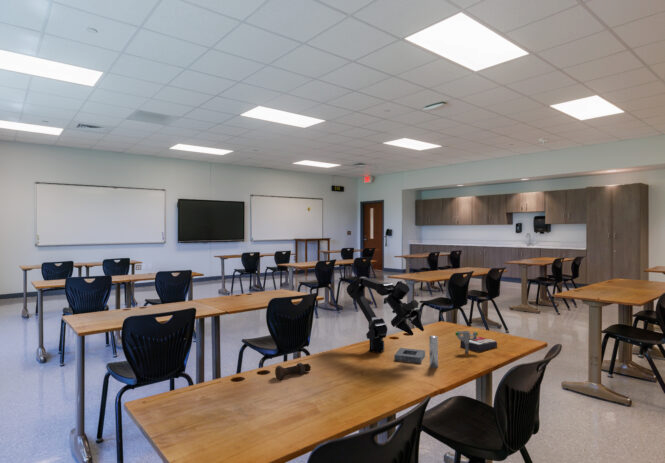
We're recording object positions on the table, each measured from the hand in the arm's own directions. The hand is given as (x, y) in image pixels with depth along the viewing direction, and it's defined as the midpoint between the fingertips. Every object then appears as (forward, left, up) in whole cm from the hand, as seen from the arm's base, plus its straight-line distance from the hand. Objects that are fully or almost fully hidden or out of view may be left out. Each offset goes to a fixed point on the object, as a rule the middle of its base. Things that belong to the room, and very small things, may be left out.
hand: (418, 332), depth 177 cm
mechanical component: (+19, +23, -14) cm, 33 cm away
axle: (+7, -3, -13) cm, 15 cm away
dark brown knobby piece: (-45, -33, -14) cm, 58 cm away
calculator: (+24, +35, -14) cm, 45 cm away
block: (-5, +5, -13) cm, 15 cm away
